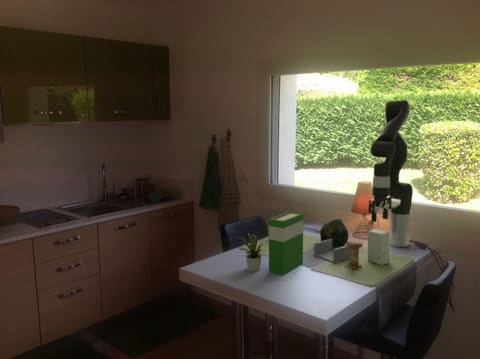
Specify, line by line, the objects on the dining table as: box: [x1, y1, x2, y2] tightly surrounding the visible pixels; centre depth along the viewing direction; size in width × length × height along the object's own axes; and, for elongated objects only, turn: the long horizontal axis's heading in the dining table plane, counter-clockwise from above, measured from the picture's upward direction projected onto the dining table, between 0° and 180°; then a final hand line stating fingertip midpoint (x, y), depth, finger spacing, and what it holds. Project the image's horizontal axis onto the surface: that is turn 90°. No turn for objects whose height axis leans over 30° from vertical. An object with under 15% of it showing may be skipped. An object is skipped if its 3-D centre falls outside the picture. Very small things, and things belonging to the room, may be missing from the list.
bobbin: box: [345, 240, 364, 270], centre depth 194 cm, size 7×7×11 cm
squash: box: [319, 218, 349, 247], centre depth 226 cm, size 14×15×15 cm
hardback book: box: [268, 210, 304, 277], centre depth 192 cm, size 18×7×24 cm, turn 144°
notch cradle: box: [313, 239, 350, 264], centre depth 208 cm, size 12×14×6 cm
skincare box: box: [367, 228, 390, 266], centre depth 200 cm, size 8×6×15 cm
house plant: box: [238, 233, 266, 272], centre depth 192 cm, size 14×14×16 cm
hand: (379, 220), depth 198 cm, fingers open, 8 cm apart
